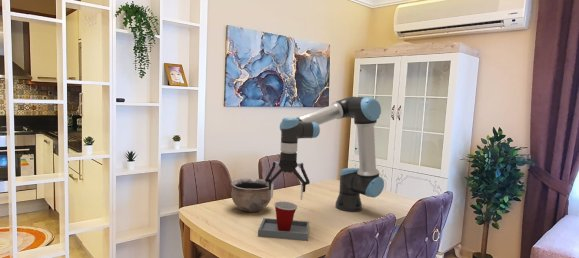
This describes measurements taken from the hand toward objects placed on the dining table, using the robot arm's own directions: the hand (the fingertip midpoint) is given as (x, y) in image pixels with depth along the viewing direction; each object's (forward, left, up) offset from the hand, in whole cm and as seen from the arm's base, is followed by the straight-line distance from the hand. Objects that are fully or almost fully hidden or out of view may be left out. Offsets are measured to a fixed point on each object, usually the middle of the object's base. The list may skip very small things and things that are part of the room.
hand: (286, 197), depth 165 cm
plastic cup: (0, 0, -15) cm, 15 cm away
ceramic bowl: (+21, -28, -16) cm, 39 cm away
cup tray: (0, 0, -16) cm, 16 cm away
